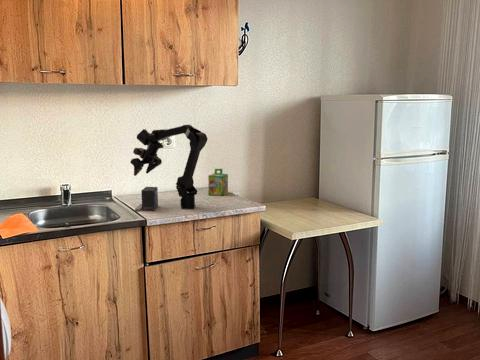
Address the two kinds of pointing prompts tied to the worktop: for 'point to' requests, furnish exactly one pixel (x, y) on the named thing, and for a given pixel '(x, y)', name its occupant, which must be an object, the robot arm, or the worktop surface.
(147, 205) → the small box
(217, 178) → the chalk box
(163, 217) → the worktop surface
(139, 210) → the stop strip
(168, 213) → the worktop surface
